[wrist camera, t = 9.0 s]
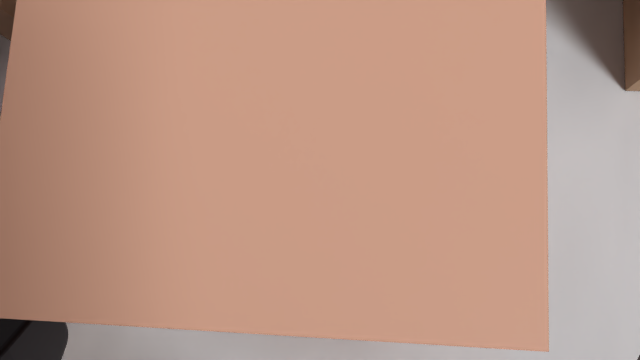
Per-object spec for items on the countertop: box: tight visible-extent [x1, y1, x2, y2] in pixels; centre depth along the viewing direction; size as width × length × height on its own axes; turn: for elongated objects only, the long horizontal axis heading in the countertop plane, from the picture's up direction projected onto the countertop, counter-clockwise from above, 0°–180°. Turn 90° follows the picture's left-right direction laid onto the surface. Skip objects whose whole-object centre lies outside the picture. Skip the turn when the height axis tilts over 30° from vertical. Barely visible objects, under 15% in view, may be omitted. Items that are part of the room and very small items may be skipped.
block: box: [0, 0, 549, 352], centre depth 11 cm, size 4×4×13 cm
